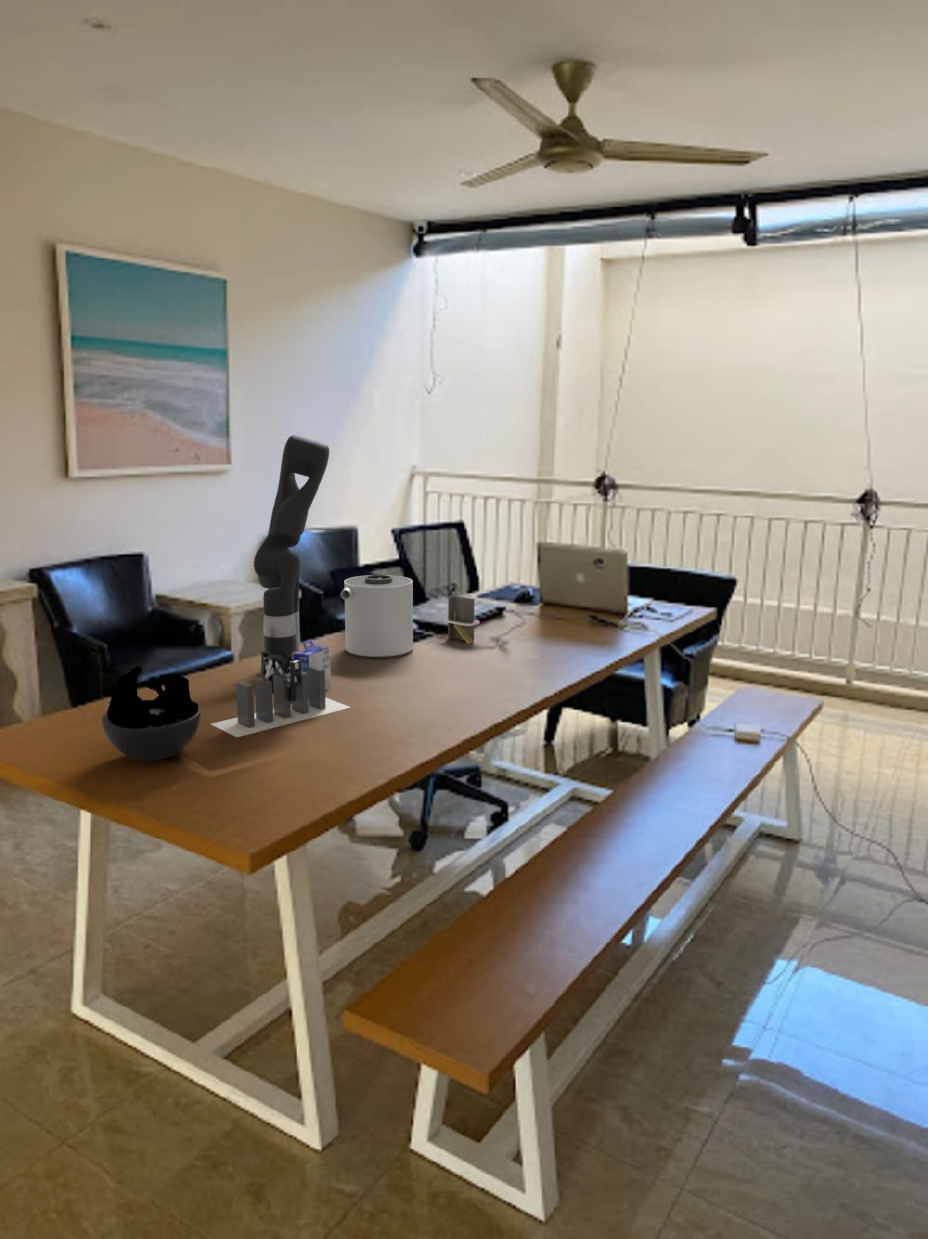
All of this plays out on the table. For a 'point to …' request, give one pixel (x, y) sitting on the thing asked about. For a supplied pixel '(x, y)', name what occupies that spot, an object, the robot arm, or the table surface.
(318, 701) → the domino
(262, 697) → the domino
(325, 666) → the ink cartridge box
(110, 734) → the coal bowl
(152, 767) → the table surface
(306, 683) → the domino
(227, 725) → the board
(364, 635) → the humidifier
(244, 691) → the domino
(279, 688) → the domino
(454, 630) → the architectural model
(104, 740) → the table surface
